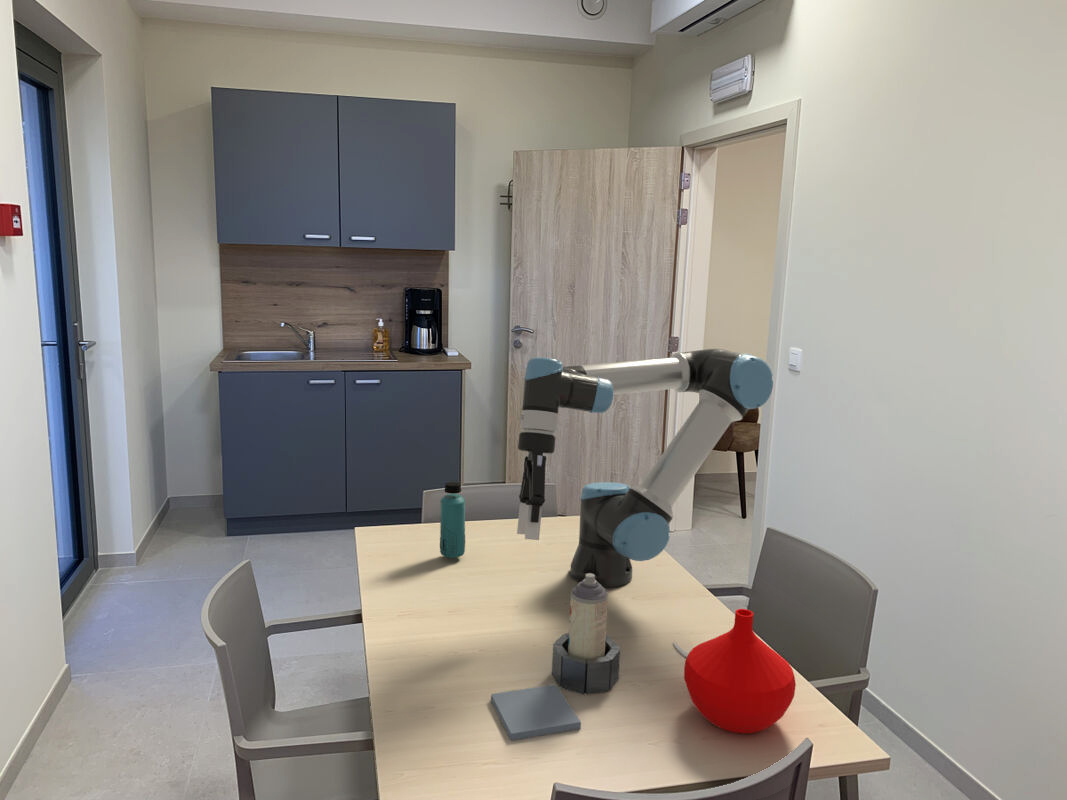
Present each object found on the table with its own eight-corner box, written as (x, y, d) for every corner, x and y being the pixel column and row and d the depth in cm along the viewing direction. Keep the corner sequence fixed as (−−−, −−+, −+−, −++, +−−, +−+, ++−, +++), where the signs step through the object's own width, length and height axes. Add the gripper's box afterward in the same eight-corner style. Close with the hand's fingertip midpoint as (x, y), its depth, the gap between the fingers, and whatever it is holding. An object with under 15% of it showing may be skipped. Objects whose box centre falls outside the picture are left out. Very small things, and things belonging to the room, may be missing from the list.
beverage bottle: (470, 557, 202) (471, 482, 198) (454, 565, 196) (455, 488, 193) (450, 551, 205) (451, 477, 201) (433, 559, 200) (434, 483, 196)
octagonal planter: (601, 657, 154) (602, 628, 153) (626, 688, 143) (628, 657, 142) (545, 665, 150) (546, 636, 149) (567, 697, 139) (568, 666, 138)
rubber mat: (555, 690, 142) (555, 684, 141) (580, 728, 130) (580, 721, 130) (490, 700, 138) (491, 694, 137) (511, 740, 126) (511, 733, 126)
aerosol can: (577, 663, 151) (582, 564, 148) (609, 674, 148) (615, 573, 144) (559, 678, 145) (564, 576, 142) (592, 690, 142) (598, 586, 138)
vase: (660, 699, 140) (667, 598, 136) (744, 680, 147) (753, 584, 144) (723, 760, 123) (733, 647, 120) (814, 735, 131) (826, 628, 127)
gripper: (513, 434, 174) (503, 530, 172) (527, 427, 150) (516, 540, 148) (546, 437, 175) (537, 533, 173) (566, 431, 151) (555, 543, 148)
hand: (527, 537), depth 160 cm, fingers open, 13 cm apart
